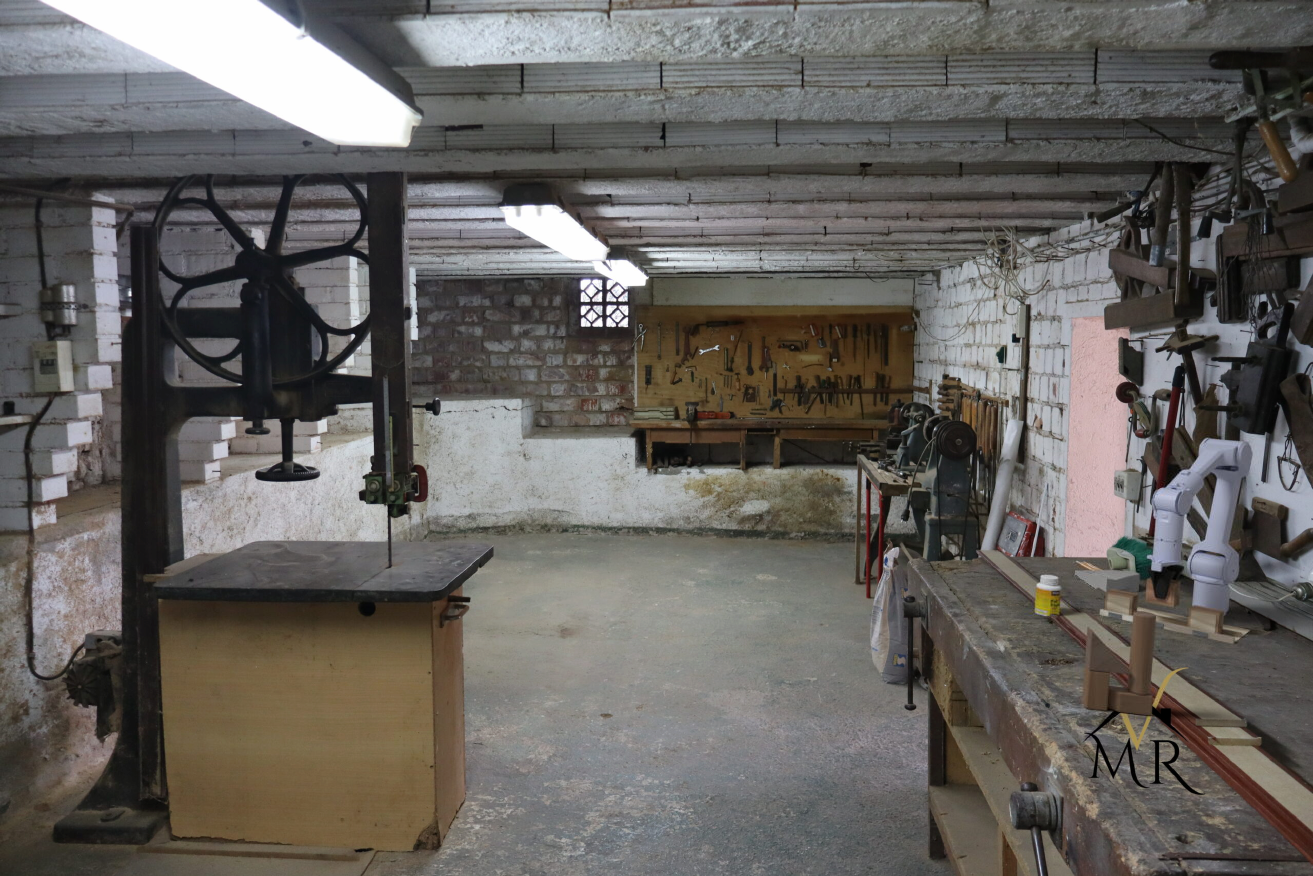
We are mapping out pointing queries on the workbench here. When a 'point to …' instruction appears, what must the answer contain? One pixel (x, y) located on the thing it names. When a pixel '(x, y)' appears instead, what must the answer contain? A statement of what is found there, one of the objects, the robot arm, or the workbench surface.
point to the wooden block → (1121, 670)
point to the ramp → (1110, 579)
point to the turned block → (1171, 597)
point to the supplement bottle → (1048, 596)
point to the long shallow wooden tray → (1182, 625)
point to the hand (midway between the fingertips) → (1163, 596)
